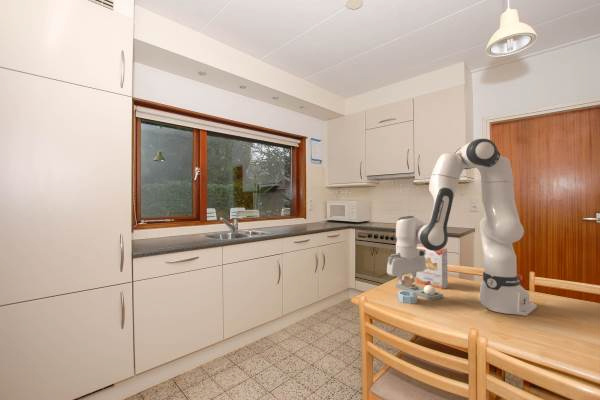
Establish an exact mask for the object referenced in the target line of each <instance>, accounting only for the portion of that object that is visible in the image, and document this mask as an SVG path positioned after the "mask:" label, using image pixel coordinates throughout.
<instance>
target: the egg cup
mask: <svg viewBox="0 0 600 400" xmlns="http://www.w3.org/2000/svg"><path fill="white" fill-rule="evenodd" d="M397 301H398V302H400V303H403V304H409V305H413V304H417V303H418V295H417V293H415V292H412V291H405V290H402V289H401V290H398V291H397Z"/></svg>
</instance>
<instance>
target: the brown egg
mask: <svg viewBox="0 0 600 400" xmlns="http://www.w3.org/2000/svg"><path fill="white" fill-rule="evenodd" d="M410 277H411V276H408V275H404V276H402V277H401V278H402V280H404V284H402V286H403V287H406V288H409V287H411V286H412V279H411V278H410Z"/></svg>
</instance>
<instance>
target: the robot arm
mask: <svg viewBox="0 0 600 400" xmlns="http://www.w3.org/2000/svg"><path fill="white" fill-rule="evenodd" d="M510 161H511V160H510V159H509V158H508V157H506V156H502V155H501V153H500V152H499V150H498V147H497V145H496V144H495V142H493V141H492V140H491V139H488V138H477V139H474V140H471V141H470V142H467V143H466V144H464V145H463V146H462V147H459V148H458V149H457V150H456V151H455V152H444V153H442V154H441V155H440V156H439V157H438V159H437V161H436V163H435V165H434V167H433V169H432V173H431V174H430V179H429V184H428V190H429V192H430V194H431V196H432V198H433V208H432V211H431V215H430V219H429V222H425V221H422V220H420V219H418V218H417V217H416V216H414V215H407V216H401V217H399V218H398V219H397V221H396V225H395V237H396V242H395V253H391V254H390V255H389V256H388V258H387V265H386V273H387V275H389V276H391V277H396V278H397V280H398V284H400V285H402V284H404V280H402V277H403V275H404V276H405V275H408V274H410V276H409V277H410V278H411V279H412V283H413V284H414V283H415V279H416V272H421V271H424V270H425V268H426V260H425V257H424V256H425V251H423V250H419V249H417V246H418V245H423V246H424V247H425V248H426V249H428V250H431V251H437V250H440V249H442V248H445V247H446V245H447V243H448V240H449V237H448V229H447V228H448V227H447V226H448V223H449V220H450V214H451V210H452V205H453V200H454V198H455V193H456V191H457V188H458V186H459V185H458V184H459V182H460V178H461V174H462V173H463V172H464V170H471V169H477V170H478V171H479V173H480V183H481V184H480V186H481V201H482V204H483V207H484V213H485V216H484V217H483V218H482V219H481V220H480V222H479V224H478V225H479V231H480V238H481V243H482V244H481V245H482V250H483V266H484V267H483V270H484V271H483V273H482V280H483V281H482V282H481V283H480V289H479V297H477V300H478V301H479V303H480V304H481V306H482V305H483V306H484V307H485V309H487V310H489V311H492V312H496V313H500V314H508V315H518V316H523V317H524V316H525V317H526V316H529V314H530V313H531V314H532V312H533V311H535V310H536V309H537V308H538V306H537V304H536V303H534V302H532V301H530V293H529V291H527V290H526V289H525V288H524V287H523V286H522V285H521V283H520V281H523V275H522V274H518V273H517V271H518V270H517V269H518V267H517V255H516V253H515V250H514V246H513V243H516V242H518V241H519V240H520V241H521V239H522V238H523V236H524V232H525V230H524V226H523V225H522V223H521V220H520V216H519V213H518V209H517V208H518V207H517V205H516V200H515V188H514V176H513V175H514V174H513V170H512V165H511V162H510Z"/></svg>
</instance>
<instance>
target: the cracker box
mask: <svg viewBox="0 0 600 400" xmlns="http://www.w3.org/2000/svg"><path fill="white" fill-rule="evenodd" d="M417 249H419V250H423V251H425V256H424V257H425V260H426V268H425V270H424V271H421V272H416V277H415V279H416V283H417V284H420V285H424V286H427V285H431V286H433V287H434V288H436V289H440V290H445V289H446V288H448V248H445V247H443V248H442V249H440V250H437V251H431V250H428V249H426V248H425V247H424V246H423V245H422V244H419V245H417Z"/></svg>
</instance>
